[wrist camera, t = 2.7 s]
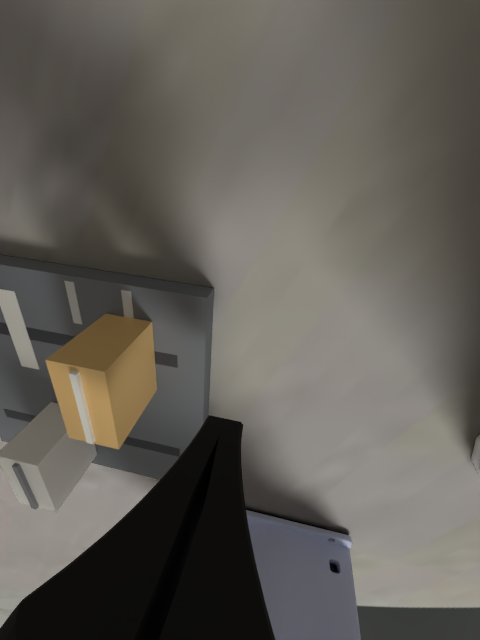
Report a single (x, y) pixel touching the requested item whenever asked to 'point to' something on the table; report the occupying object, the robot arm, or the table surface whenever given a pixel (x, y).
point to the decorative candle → (476, 455)
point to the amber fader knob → (105, 379)
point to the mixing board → (79, 313)
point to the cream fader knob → (45, 461)
